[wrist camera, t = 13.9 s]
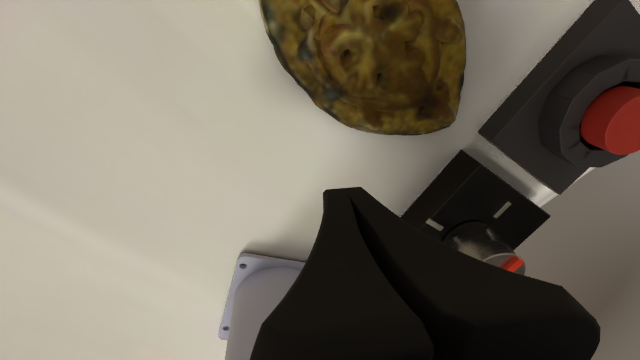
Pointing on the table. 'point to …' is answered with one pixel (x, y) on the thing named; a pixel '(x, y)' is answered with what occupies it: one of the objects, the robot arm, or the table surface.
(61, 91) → the table surface
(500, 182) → the dial plate
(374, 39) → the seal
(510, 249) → the dial
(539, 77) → the power block
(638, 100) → the power button
